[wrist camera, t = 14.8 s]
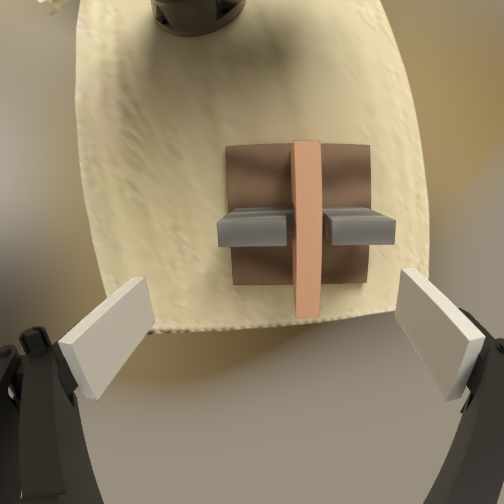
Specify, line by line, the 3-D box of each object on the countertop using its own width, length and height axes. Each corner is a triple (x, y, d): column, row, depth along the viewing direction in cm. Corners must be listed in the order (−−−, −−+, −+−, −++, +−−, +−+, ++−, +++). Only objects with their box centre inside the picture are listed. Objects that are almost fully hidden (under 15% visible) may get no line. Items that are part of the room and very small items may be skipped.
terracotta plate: (290, 151, 37) (294, 141, 25) (308, 151, 37) (320, 141, 25) (292, 279, 42) (295, 317, 30) (309, 278, 41) (319, 317, 30)
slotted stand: (227, 147, 39) (202, 134, 26) (366, 146, 37) (403, 134, 24) (234, 281, 44) (216, 324, 31) (364, 279, 42) (393, 320, 29)
